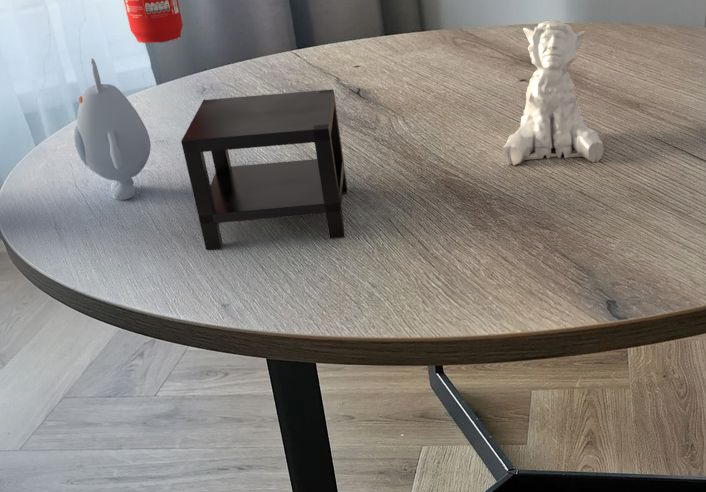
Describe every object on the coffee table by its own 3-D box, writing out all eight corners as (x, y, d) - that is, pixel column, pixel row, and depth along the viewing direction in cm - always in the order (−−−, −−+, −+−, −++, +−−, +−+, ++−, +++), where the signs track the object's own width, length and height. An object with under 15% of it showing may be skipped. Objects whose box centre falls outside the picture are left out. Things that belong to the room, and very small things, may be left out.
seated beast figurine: (502, 167, 89) (495, 35, 83) (502, 137, 96) (496, 14, 90) (604, 162, 89) (604, 29, 83) (596, 133, 96) (596, 9, 90)
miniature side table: (205, 250, 76) (180, 140, 72) (224, 199, 86) (203, 99, 81) (344, 237, 77) (328, 128, 72) (347, 188, 87) (333, 89, 82)
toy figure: (89, 181, 92) (52, 53, 85) (156, 169, 94) (125, 44, 87) (93, 219, 83) (53, 81, 77) (167, 206, 85) (134, 70, 79)
